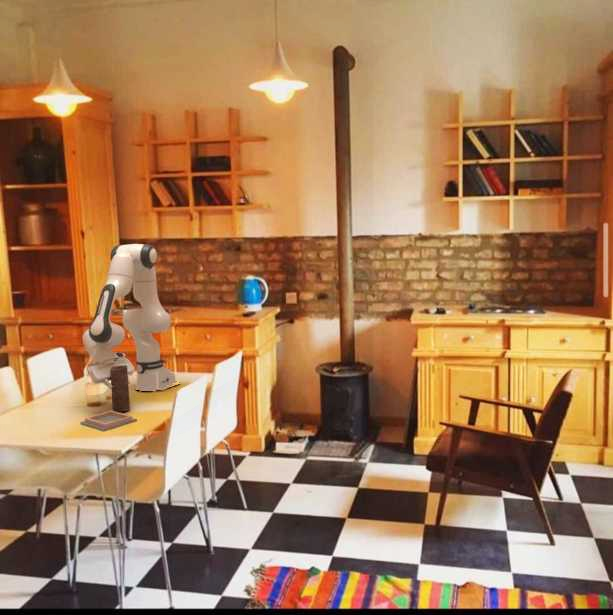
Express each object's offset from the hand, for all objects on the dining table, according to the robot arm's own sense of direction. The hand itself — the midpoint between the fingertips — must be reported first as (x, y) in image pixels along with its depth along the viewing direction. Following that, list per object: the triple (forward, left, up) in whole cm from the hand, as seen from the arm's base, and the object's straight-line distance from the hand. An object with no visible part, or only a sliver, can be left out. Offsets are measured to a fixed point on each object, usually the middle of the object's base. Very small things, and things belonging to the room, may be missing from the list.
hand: (120, 385), depth 296 cm
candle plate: (+13, +8, -11) cm, 19 cm away
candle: (0, -1, -12) cm, 12 cm away
